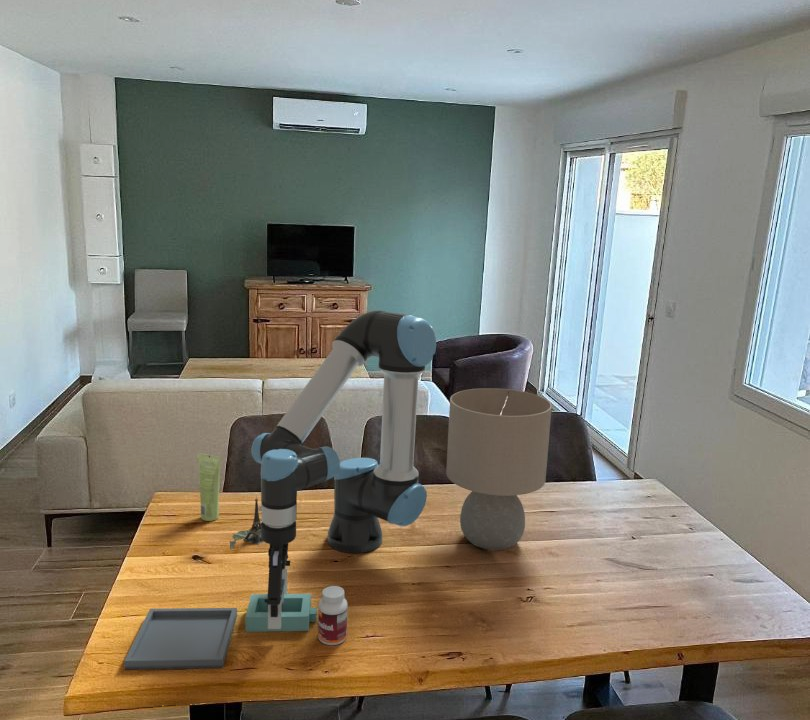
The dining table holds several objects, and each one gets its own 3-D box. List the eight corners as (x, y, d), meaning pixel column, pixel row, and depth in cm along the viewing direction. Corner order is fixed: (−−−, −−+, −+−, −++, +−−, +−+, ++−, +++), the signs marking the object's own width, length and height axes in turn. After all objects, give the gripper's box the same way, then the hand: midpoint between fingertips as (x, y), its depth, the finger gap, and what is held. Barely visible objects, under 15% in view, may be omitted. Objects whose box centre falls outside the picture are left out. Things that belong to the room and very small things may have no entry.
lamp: (495, 576, 176) (505, 422, 167) (423, 537, 196) (429, 397, 187) (559, 545, 194) (572, 404, 185) (487, 512, 213) (496, 383, 204)
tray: (237, 615, 156) (237, 607, 156) (222, 668, 139) (222, 659, 138) (150, 616, 155) (150, 608, 154) (124, 669, 137) (124, 660, 137)
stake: (290, 610, 159) (290, 579, 157) (288, 627, 153) (287, 594, 151) (271, 611, 158) (270, 579, 157) (267, 627, 152) (267, 594, 150)
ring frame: (317, 607, 160) (317, 593, 160) (315, 630, 152) (315, 616, 151) (251, 608, 159) (251, 594, 159) (245, 631, 151) (245, 617, 150)
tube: (219, 512, 207) (217, 450, 202) (222, 519, 202) (220, 456, 198) (199, 515, 204) (197, 453, 200) (202, 523, 200) (200, 458, 195)
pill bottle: (311, 637, 149) (312, 591, 147) (332, 625, 154) (333, 580, 151) (332, 650, 145) (332, 603, 143) (352, 637, 150) (353, 591, 148)
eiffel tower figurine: (282, 528, 200) (282, 484, 197) (287, 545, 190) (287, 499, 187) (228, 533, 195) (227, 489, 192) (230, 551, 186) (229, 504, 183)
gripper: (267, 497, 162) (267, 580, 166) (253, 548, 138) (252, 644, 142) (300, 498, 163) (299, 580, 167) (291, 548, 138) (290, 644, 143)
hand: (277, 610), depth 155 cm, fingers open, 13 cm apart
